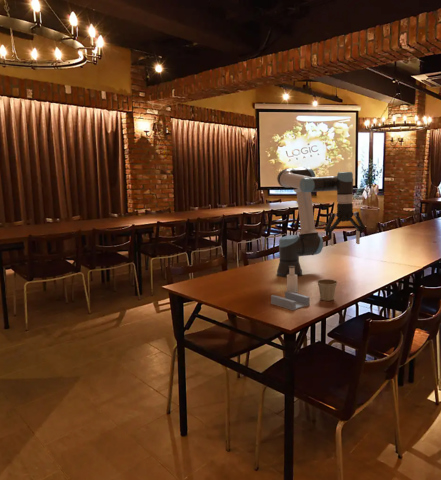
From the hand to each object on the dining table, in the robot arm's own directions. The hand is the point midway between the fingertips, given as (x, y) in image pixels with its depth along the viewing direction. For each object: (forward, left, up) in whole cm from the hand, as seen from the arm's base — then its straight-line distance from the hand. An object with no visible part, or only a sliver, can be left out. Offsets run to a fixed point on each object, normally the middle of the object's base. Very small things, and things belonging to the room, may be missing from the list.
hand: (344, 244), depth 201 cm
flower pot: (+5, -21, -23) cm, 32 cm away
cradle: (-2, -39, -23) cm, 45 cm away
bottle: (-12, -27, -23) cm, 37 cm away
